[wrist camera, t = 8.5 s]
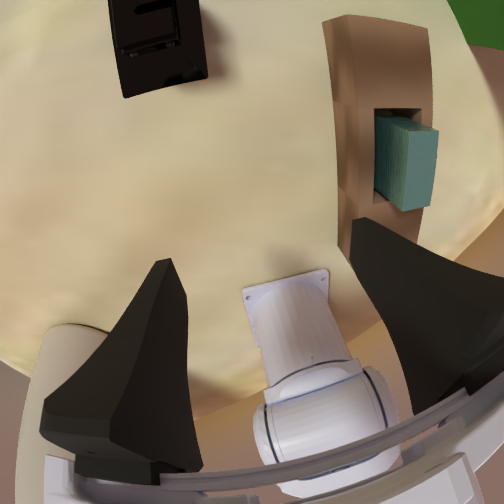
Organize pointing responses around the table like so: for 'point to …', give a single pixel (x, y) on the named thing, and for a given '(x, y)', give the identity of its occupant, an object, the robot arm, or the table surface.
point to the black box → (157, 43)
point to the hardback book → (481, 21)
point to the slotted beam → (362, 110)
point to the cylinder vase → (42, 385)
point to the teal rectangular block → (404, 160)
